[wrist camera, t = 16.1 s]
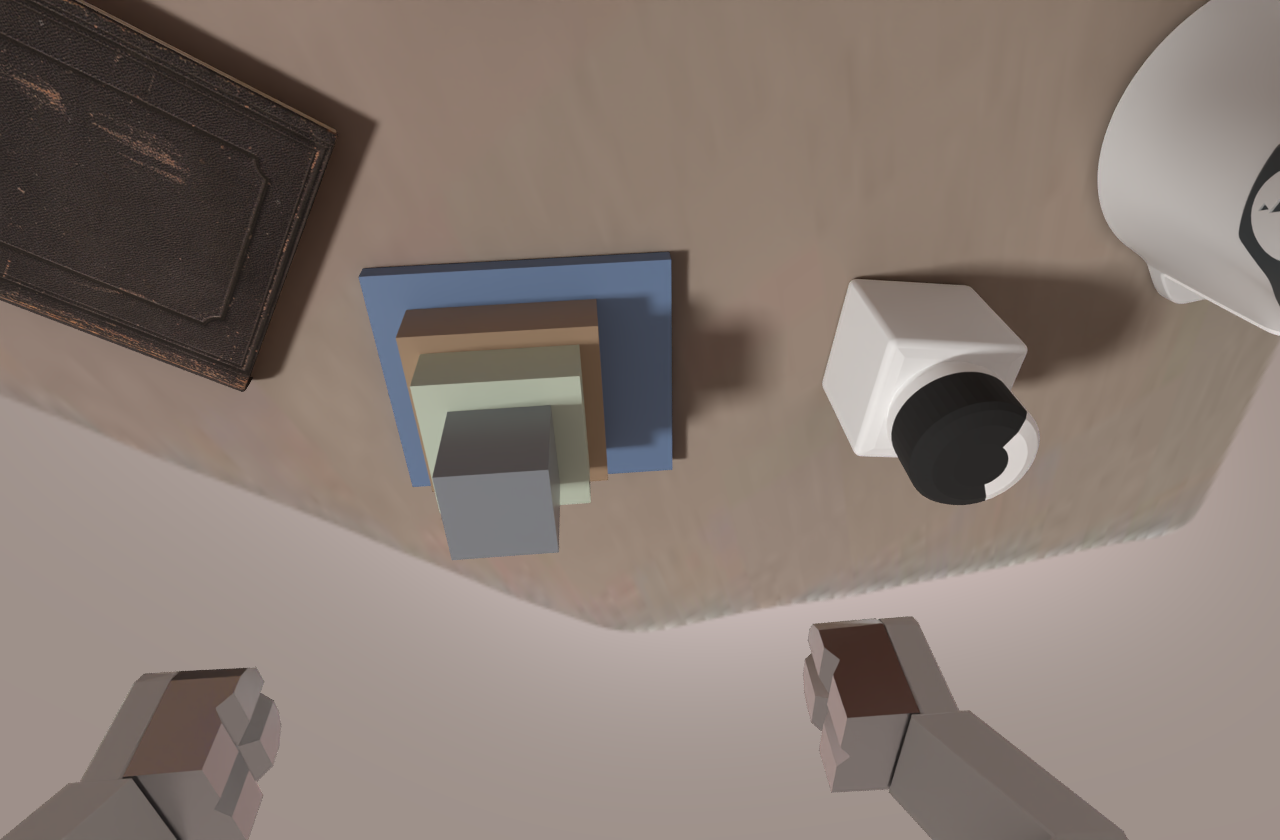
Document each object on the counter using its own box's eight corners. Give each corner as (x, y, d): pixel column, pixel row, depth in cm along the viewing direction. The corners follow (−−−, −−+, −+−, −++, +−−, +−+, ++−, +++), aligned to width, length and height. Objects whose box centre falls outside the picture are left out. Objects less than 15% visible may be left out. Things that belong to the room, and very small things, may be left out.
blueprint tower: (669, 251, 41) (685, 313, 36) (670, 459, 49) (683, 537, 44) (362, 268, 41) (328, 334, 35) (415, 476, 49) (394, 557, 43)
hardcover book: (-263, -194, 29) (-320, -198, 27) (348, 122, 37) (336, 136, 35) (-251, 179, 36) (-296, 196, 35) (254, 375, 44) (240, 398, 43)
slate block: (550, 404, 38) (548, 469, 34) (560, 483, 41) (558, 552, 37) (447, 411, 38) (432, 477, 34) (464, 490, 41) (451, 560, 37)
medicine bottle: (819, 385, 47) (884, 521, 37) (848, 276, 43) (930, 397, 33) (932, 390, 48) (1024, 525, 38) (971, 283, 44) (1086, 403, 34)
